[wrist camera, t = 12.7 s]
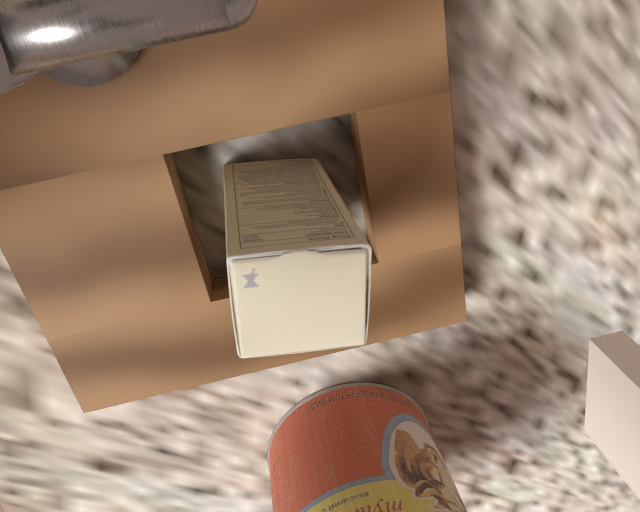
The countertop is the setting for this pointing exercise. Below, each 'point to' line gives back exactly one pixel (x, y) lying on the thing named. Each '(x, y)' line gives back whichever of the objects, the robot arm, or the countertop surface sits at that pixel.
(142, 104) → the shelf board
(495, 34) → the countertop surface
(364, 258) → the box
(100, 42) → the door lever handle
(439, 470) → the canned food
